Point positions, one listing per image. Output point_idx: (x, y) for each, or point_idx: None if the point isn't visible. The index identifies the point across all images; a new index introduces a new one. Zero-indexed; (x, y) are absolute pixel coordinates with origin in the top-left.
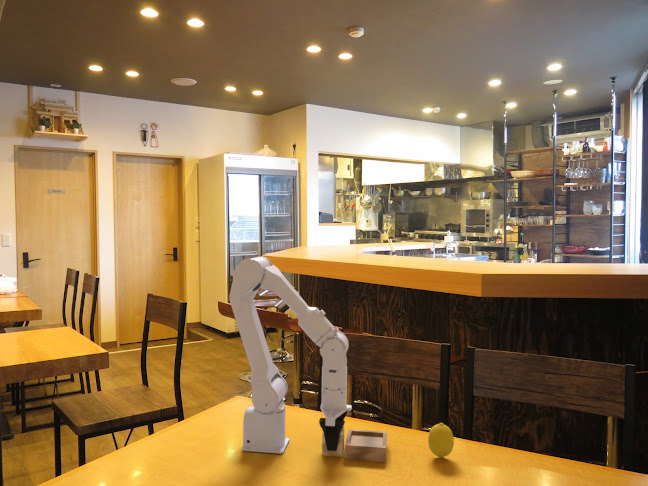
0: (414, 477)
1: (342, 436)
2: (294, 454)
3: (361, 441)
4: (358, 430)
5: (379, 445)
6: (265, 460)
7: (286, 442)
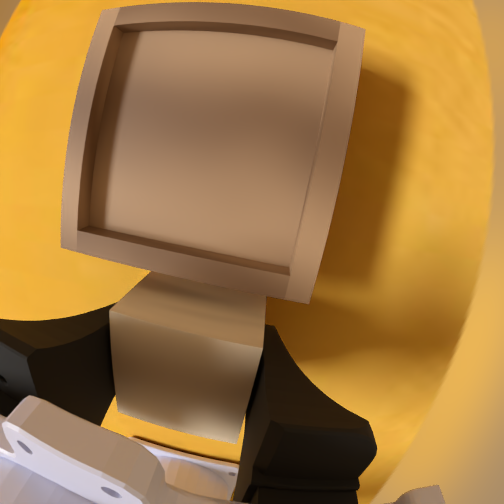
0: (460, 11)
1: (260, 338)
2: (239, 439)
3: (192, 169)
4: (71, 185)
5: (265, 55)
6: None
7: (164, 453)
